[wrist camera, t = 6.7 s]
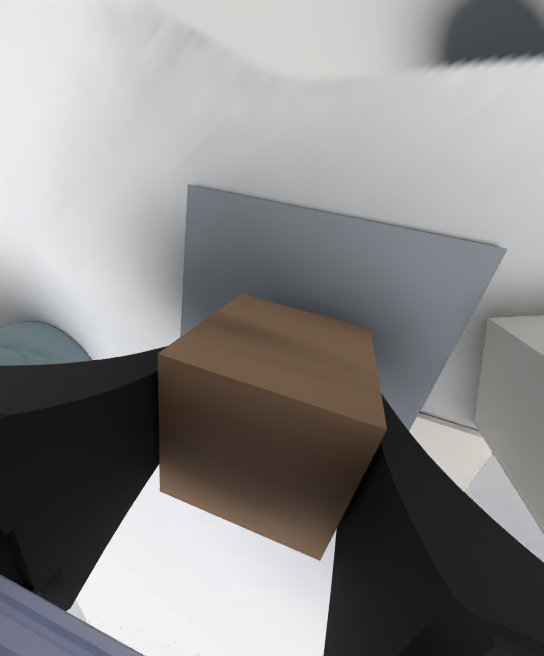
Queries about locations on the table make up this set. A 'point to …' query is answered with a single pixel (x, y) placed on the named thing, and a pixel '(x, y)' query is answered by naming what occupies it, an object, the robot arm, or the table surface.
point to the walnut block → (270, 419)
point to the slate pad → (339, 280)
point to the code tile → (452, 447)
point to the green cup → (37, 345)
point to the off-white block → (515, 404)
